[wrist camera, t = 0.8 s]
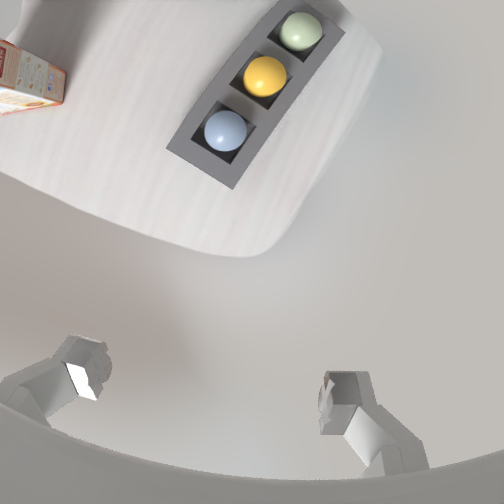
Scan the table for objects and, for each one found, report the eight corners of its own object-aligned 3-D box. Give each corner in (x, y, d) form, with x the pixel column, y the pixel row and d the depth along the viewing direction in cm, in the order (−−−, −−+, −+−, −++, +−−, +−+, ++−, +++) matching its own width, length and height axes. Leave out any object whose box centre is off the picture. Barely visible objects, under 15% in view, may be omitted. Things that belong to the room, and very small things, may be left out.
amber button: (234, 84, 36) (238, 78, 33) (256, 56, 35) (261, 49, 32) (266, 104, 38) (272, 101, 34) (286, 77, 37) (293, 71, 34)
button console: (171, 148, 44) (165, 148, 37) (274, 11, 40) (288, -9, 32) (227, 183, 47) (232, 189, 40) (324, 46, 43) (345, 32, 35)
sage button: (271, 37, 35) (278, 29, 31) (290, 15, 34) (298, 6, 31) (301, 58, 36) (309, 51, 33) (319, 35, 35) (328, 27, 32)
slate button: (196, 138, 38) (196, 136, 34) (218, 106, 37) (220, 103, 34) (228, 158, 39) (231, 158, 36) (249, 127, 38) (254, 125, 35)
